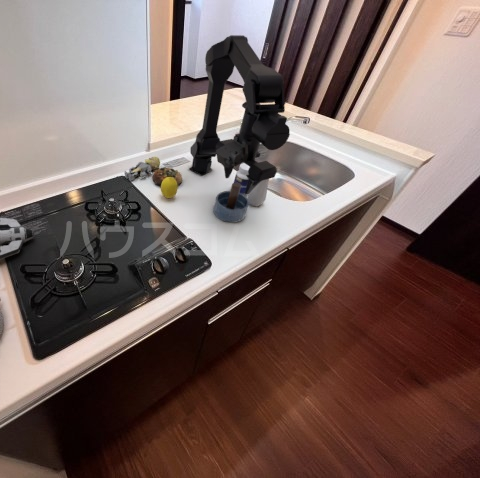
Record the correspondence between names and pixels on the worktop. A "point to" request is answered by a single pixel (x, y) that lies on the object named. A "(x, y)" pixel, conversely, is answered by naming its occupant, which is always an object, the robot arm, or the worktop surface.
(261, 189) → the salt shaker
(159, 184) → the bread roll
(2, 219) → the toy spacecraft
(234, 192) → the muddler
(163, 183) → the lemon
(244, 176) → the pill bottle
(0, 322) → the dish
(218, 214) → the bowl
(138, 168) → the toy
